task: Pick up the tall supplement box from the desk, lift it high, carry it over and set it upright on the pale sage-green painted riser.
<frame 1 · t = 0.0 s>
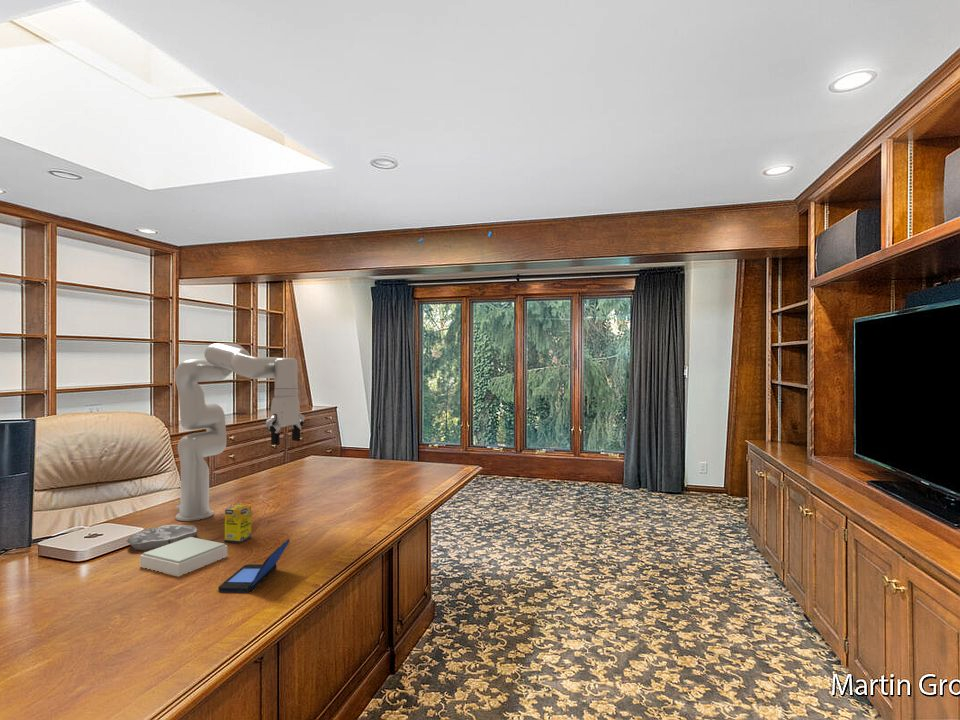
hand: (285, 442, 180), 31 cm above the table, tool pointing down, fingers open, 9 cm apart
brain slice: (161, 542, 171), on the table
handheld game console: (255, 581, 141), on the table
supplement box: (238, 540, 172), on the table
riser: (184, 561, 153), on the table
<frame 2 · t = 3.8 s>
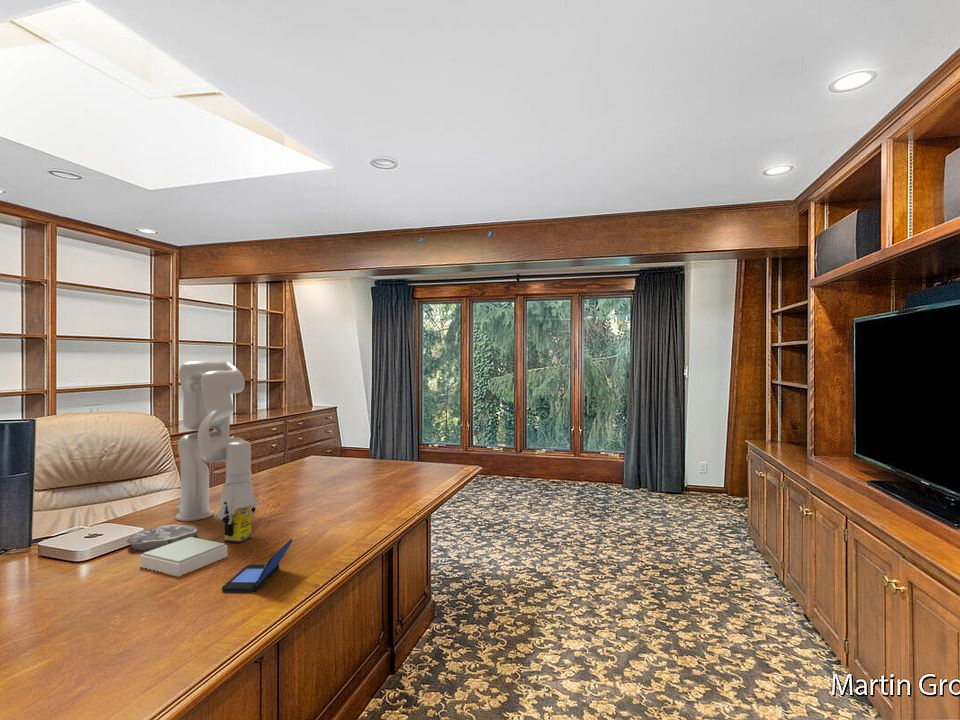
hand: (238, 531, 172), 3 cm above the table, tool pointing down, fingers closed on supplement box, 6 cm apart
supplement box: (238, 540, 172), on the table, touching gripper
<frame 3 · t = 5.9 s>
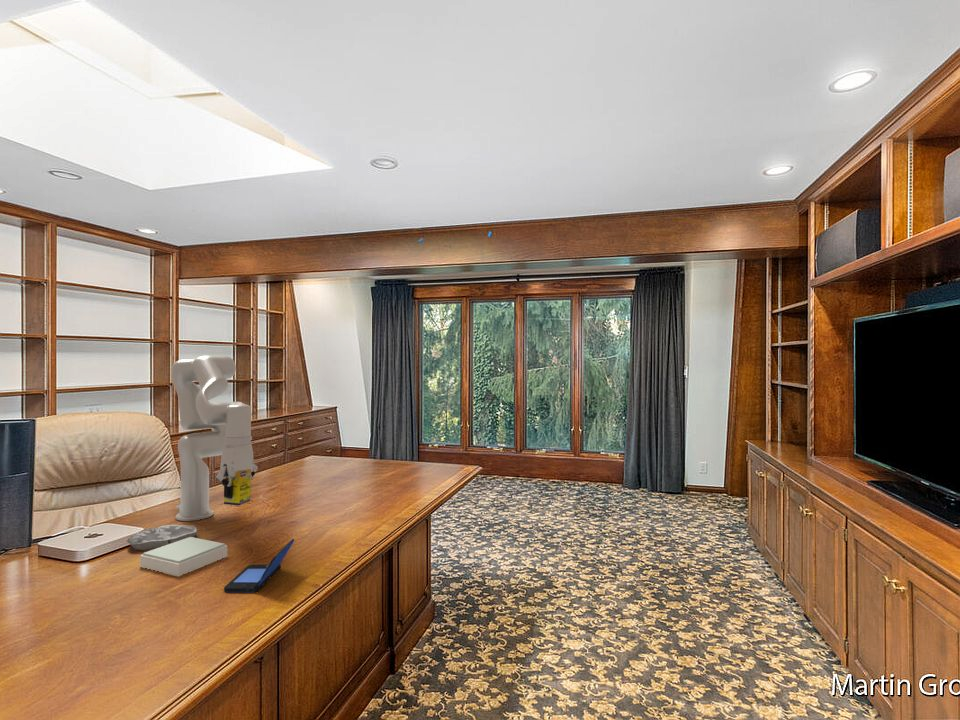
hand: (237, 494, 172), 15 cm above the table, tool pointing down, fingers closed on supplement box, 6 cm apart
supplement box: (237, 503, 172), point 12 cm above the table, touching gripper
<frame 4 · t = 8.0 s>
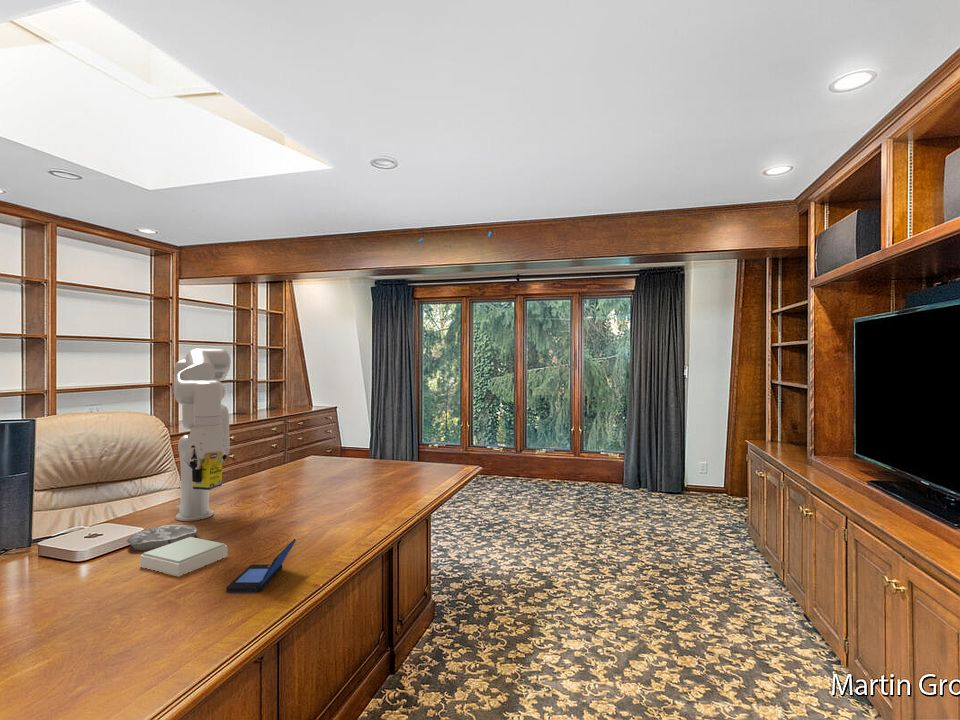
hand: (207, 478, 160), 23 cm above the table, tool pointing down, fingers closed on supplement box, 6 cm apart
supplement box: (207, 488, 161), point 20 cm above the table, touching gripper
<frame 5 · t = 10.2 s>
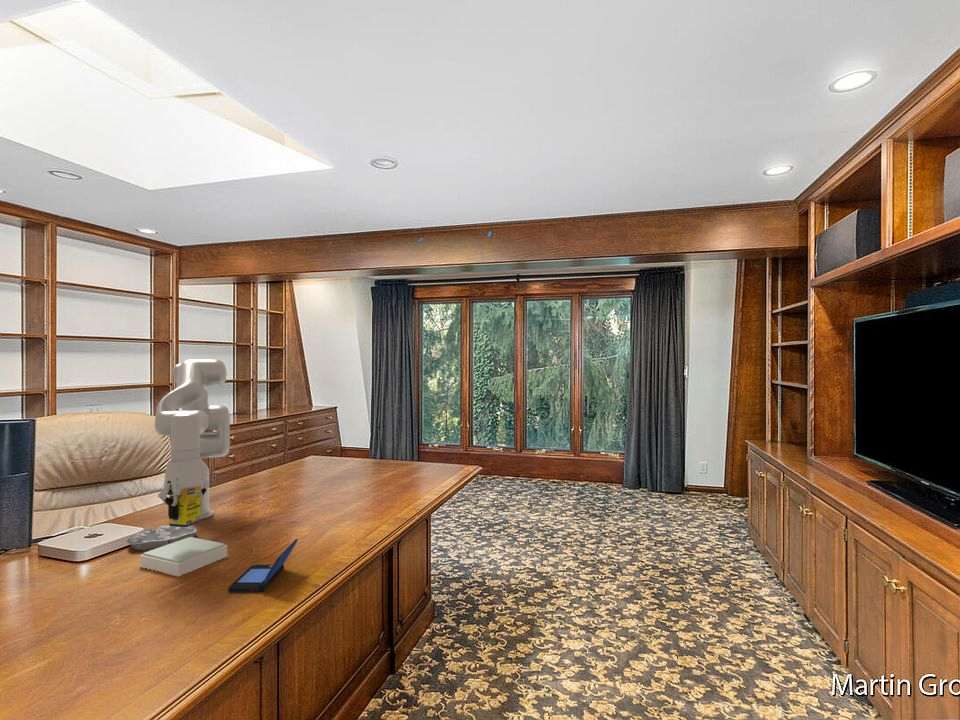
hand: (185, 514, 153), 14 cm above the table, tool pointing down, fingers closed on supplement box, 6 cm apart
supplement box: (185, 524, 153), point 11 cm above the table, touching gripper
when the fingers open (8 cm above the table, at t = 12.2 s): supplement box drops 1 cm, resting on riser.
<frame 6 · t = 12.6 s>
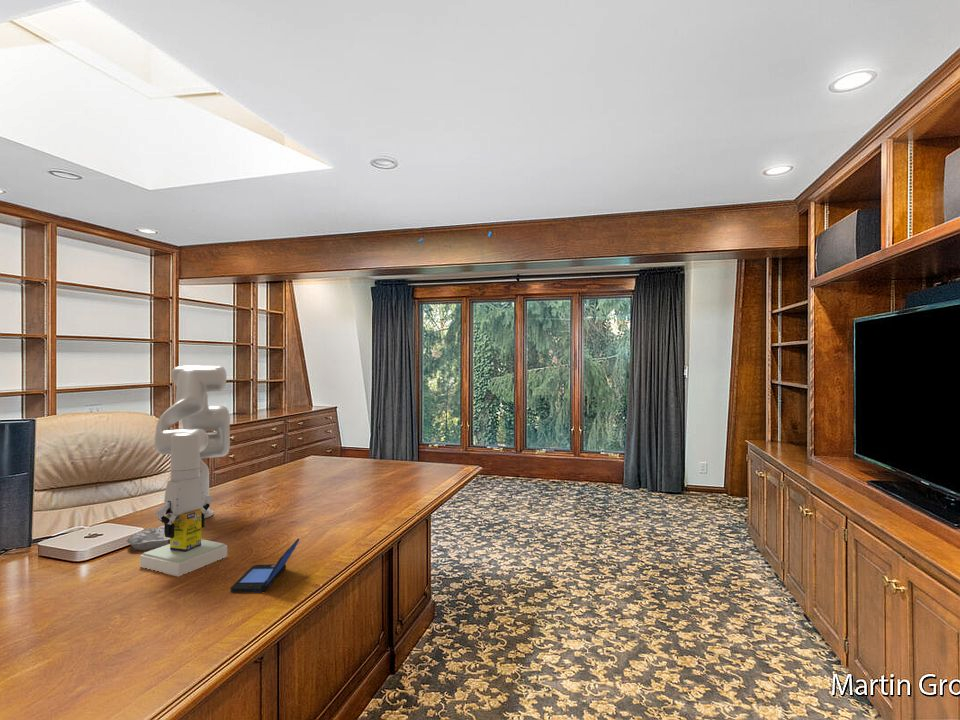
hand: (185, 532, 153), 9 cm above the table, tool pointing down, fingers open, 9 cm apart
supplement box: (186, 548, 154), point 4 cm above the table, touching riser
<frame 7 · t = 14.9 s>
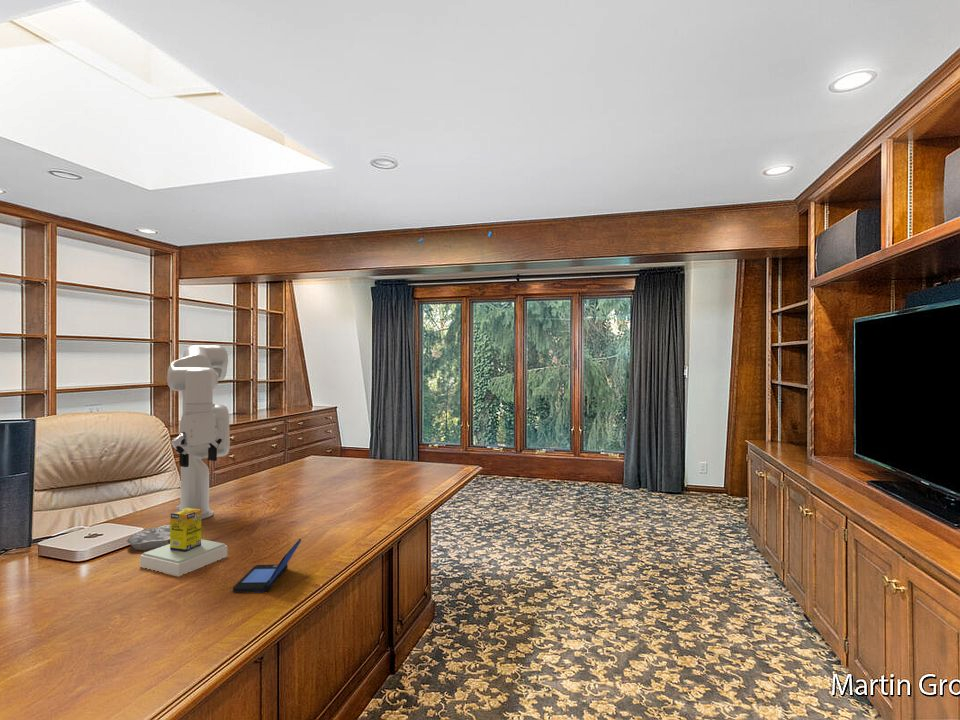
hand: (198, 463, 161), 28 cm above the table, tool pointing down, fingers open, 9 cm apart
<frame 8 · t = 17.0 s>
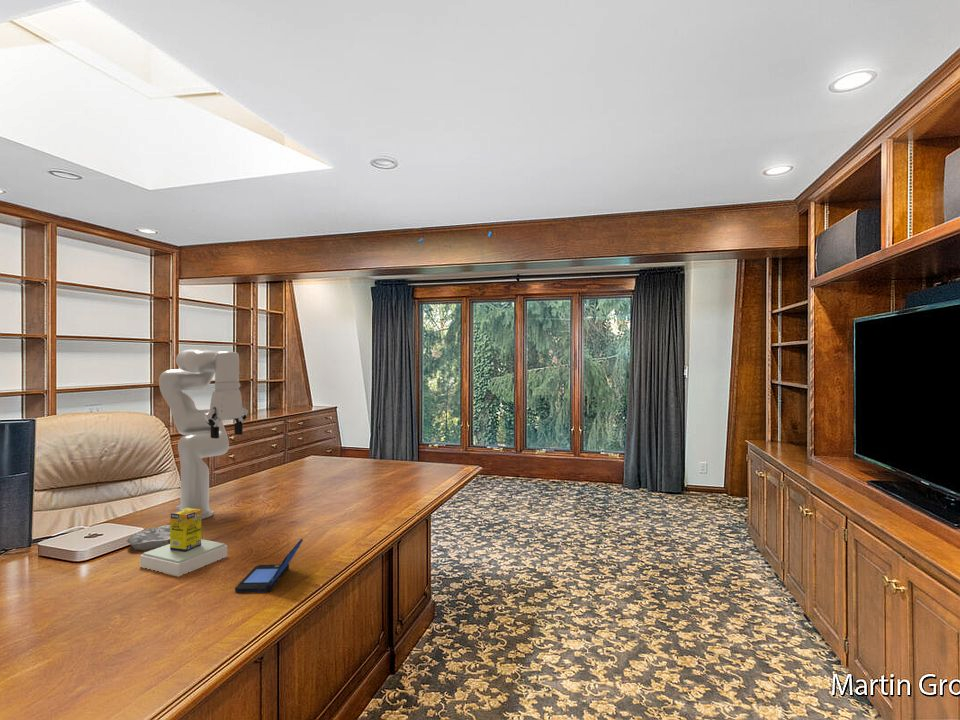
hand: (226, 436, 180), 33 cm above the table, tool pointing down, fingers open, 9 cm apart
at the end: supplement box inside the target area on the riser (0.4 cm from its centre), point 3.8 cm above the riser's base; supplement box tilted 0°; the gripper is holding nothing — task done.
